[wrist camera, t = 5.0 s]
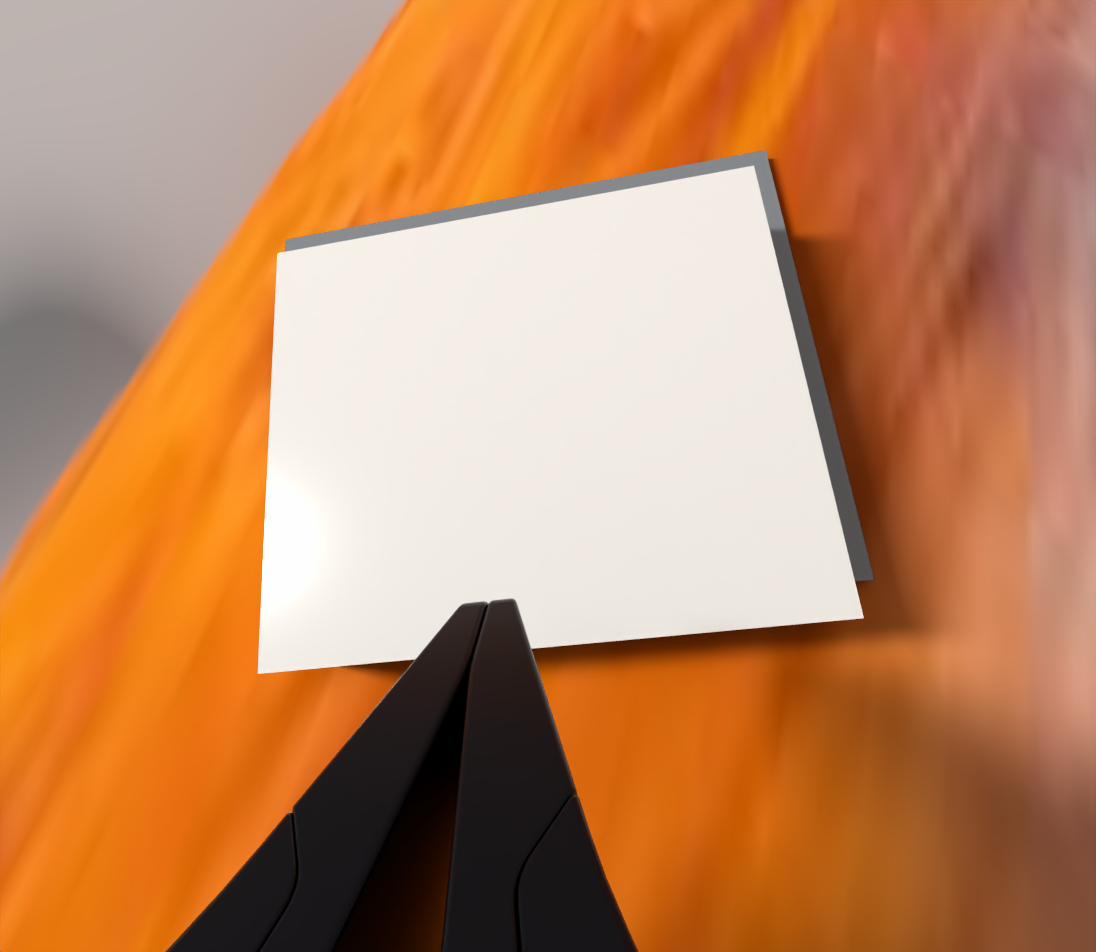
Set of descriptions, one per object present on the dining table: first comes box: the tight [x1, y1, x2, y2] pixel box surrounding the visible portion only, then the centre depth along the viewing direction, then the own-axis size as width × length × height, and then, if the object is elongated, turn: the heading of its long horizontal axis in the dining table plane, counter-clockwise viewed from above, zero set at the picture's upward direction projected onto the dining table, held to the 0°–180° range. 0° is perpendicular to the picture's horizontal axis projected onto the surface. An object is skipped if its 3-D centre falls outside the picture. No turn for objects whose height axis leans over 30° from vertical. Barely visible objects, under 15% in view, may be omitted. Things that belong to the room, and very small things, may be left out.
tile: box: [258, 166, 864, 674], centre depth 15 cm, size 2×14×12 cm
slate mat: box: [285, 150, 874, 582], centre depth 17 cm, size 14×17×1 cm
